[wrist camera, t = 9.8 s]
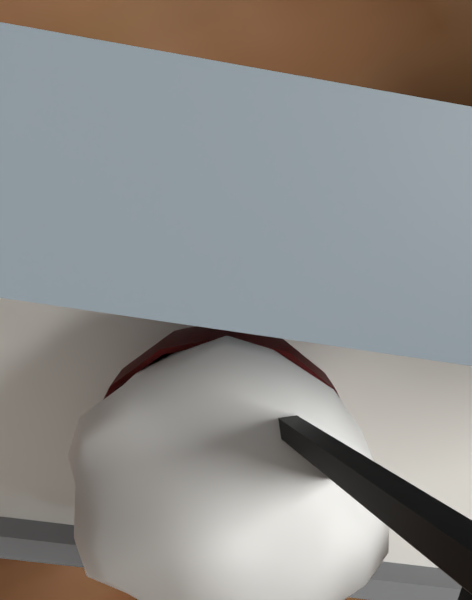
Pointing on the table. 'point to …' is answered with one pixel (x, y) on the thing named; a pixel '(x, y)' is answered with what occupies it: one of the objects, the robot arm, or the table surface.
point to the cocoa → (241, 480)
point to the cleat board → (228, 259)
